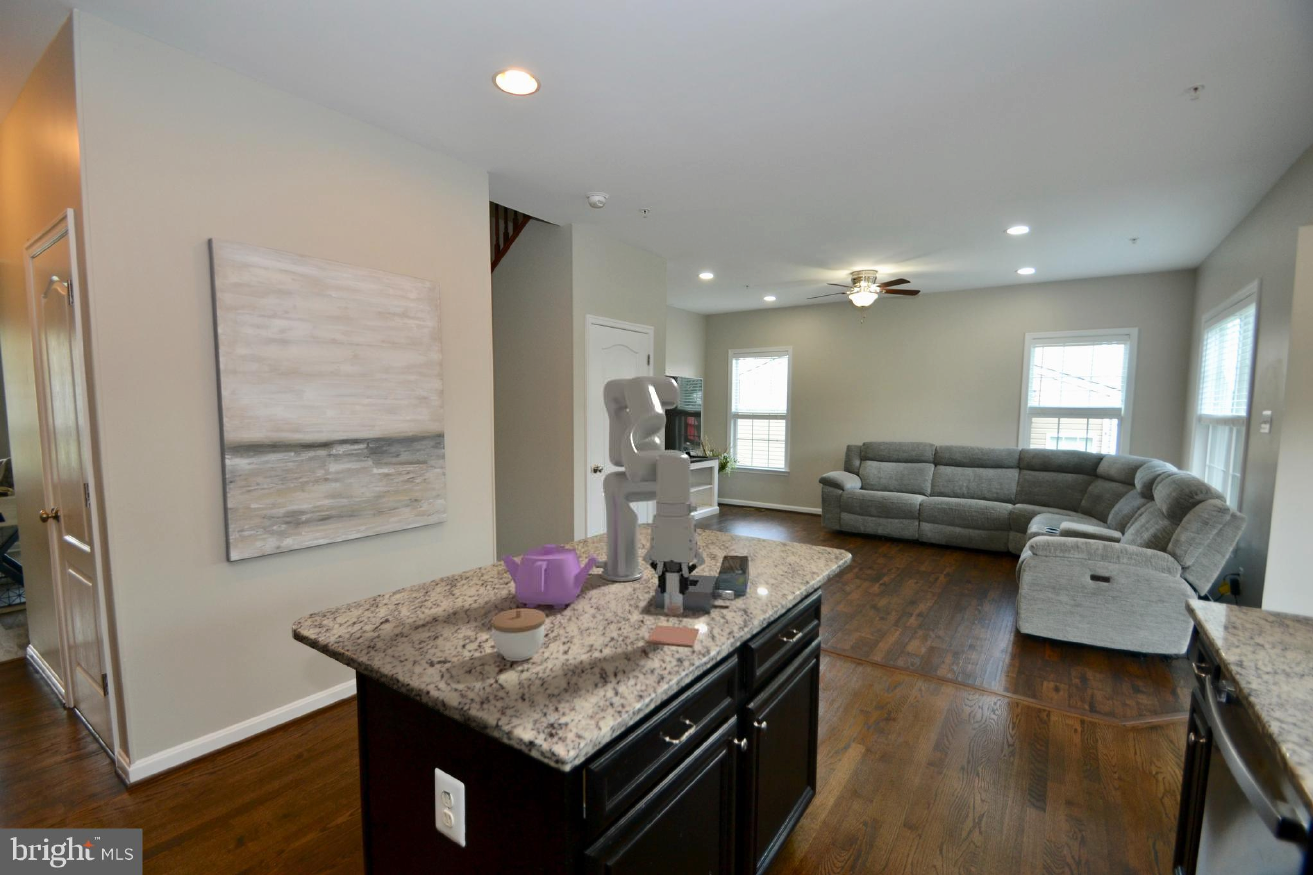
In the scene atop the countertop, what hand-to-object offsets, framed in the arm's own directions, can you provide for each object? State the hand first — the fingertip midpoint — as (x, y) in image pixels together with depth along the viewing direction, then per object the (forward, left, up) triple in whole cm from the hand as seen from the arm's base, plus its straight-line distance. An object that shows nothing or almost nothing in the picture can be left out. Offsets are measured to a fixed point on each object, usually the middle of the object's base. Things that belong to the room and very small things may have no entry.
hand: (673, 591), depth 124 cm
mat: (0, 0, -10) cm, 10 cm away
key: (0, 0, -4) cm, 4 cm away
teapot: (-36, +15, -10) cm, 40 cm away
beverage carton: (+9, +40, -11) cm, 43 cm away
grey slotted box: (+1, +23, -10) cm, 25 cm away
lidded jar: (-29, -16, -10) cm, 35 cm away
